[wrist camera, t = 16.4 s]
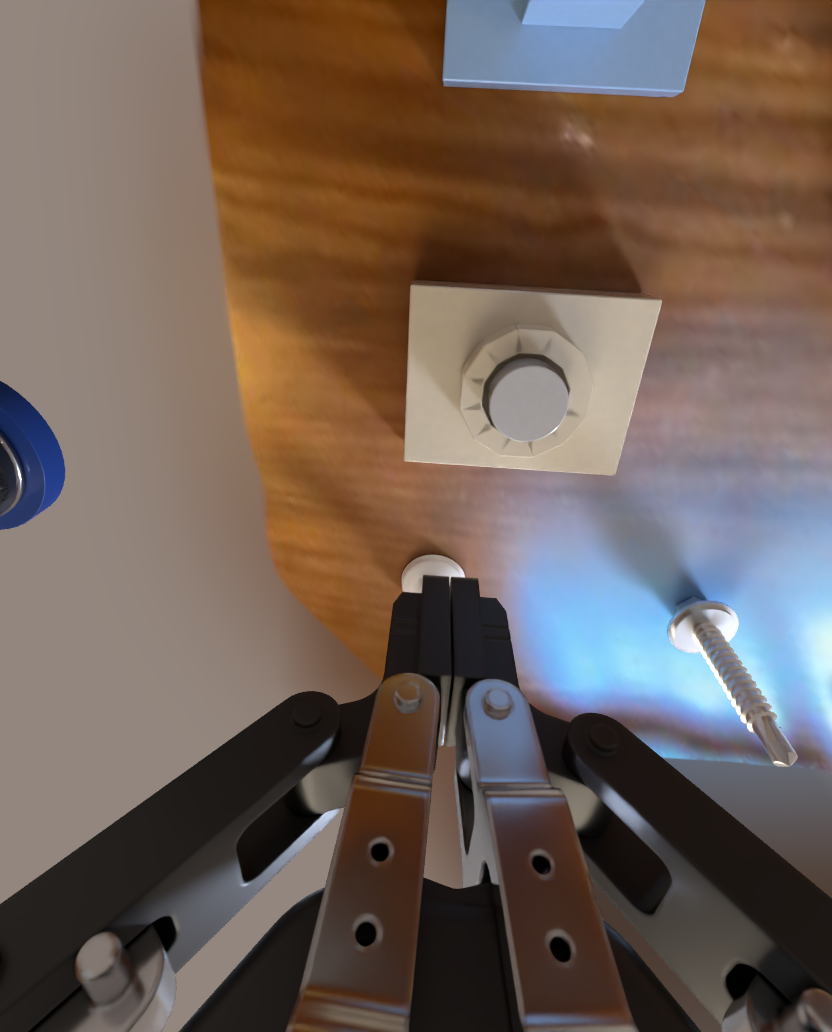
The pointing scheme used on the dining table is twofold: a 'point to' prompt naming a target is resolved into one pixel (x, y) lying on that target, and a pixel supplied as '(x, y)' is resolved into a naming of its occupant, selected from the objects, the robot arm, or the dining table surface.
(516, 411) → the grey push button
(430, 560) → the chess piece
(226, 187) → the dining table surface
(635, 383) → the dial knob panel
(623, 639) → the dining table surface
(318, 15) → the dining table surface
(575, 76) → the lever bracket
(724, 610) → the screw
